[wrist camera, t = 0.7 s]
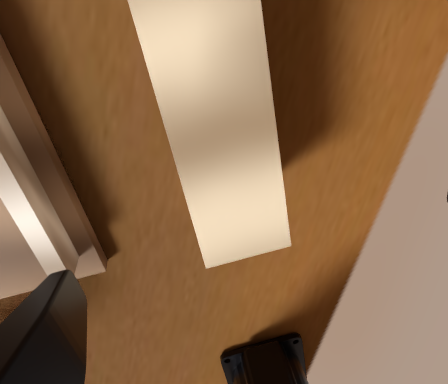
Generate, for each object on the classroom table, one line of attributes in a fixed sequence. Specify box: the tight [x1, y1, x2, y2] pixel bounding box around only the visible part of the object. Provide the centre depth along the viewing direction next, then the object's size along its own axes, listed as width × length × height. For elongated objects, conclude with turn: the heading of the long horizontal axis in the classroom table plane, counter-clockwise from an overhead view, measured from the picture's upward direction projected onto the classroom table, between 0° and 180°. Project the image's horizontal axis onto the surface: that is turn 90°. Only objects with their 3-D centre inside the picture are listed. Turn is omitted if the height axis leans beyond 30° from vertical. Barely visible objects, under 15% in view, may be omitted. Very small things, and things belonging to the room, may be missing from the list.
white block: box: [128, 0, 291, 268], centre depth 16 cm, size 12×4×6 cm, turn 11°
